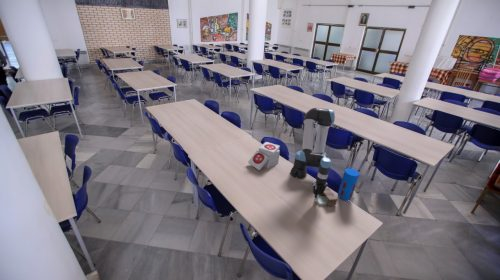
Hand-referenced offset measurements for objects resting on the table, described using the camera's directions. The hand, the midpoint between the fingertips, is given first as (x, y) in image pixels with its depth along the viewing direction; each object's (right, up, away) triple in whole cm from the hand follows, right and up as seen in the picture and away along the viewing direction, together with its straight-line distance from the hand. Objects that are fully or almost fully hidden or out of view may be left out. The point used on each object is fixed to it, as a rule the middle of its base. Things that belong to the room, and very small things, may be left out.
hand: (316, 200), depth 190 cm
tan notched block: (+10, -1, +3) cm, 11 cm away
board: (+6, -2, +2) cm, 7 cm away
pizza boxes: (-39, +25, +45) cm, 65 cm away
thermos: (+26, +1, +9) cm, 28 cm away
